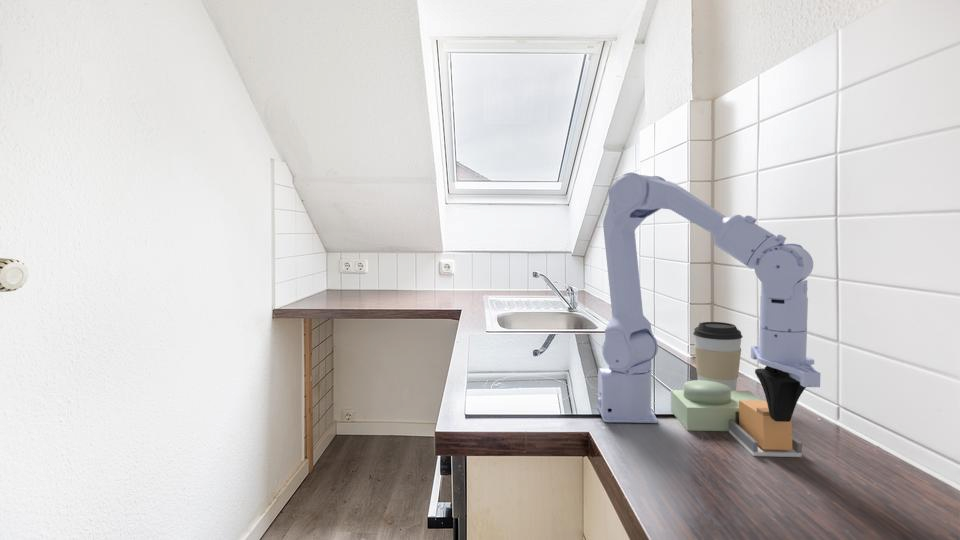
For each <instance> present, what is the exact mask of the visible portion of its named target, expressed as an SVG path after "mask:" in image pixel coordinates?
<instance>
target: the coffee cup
mask: <svg viewBox="0 0 960 540" xmlns="http://www.w3.org/2000/svg"><path fill="white" fill-rule="evenodd" d="M692 335H694V358H695V367H696V374H697V375H696V376H697V380H706V381H713V382H718V383H722V384H724V385H727V386H728V387H730V388H731V390H732V391H737V384H738V378H739V373H740V372H739V370H740V363H741V355H742V354H741V353H742V348H741V347H742V346H741V344H742V338H743V335H742V332H741V330H739V329H738V327H737V326H736V325H735V324H733V323H730V322H729V323H727V322H723V321H705V322H704V321H703V322H699V324H698V326H696V327H695V328H694V331H693V333H692Z"/></svg>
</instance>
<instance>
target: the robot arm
mask: <svg viewBox="0 0 960 540" xmlns="http://www.w3.org/2000/svg"><path fill="white" fill-rule="evenodd" d="M607 191H608V200H609V201H608V204H607V208H606V211H605V214H604V218H603V225H602V227H603V236H604V237H603V239H604V245H605V247H604V248H605V249H604V250H605V255H606V266H607V277H608V286H609V294H610V295H609V297H610V304H611V305H610V306H611V314H612V315H611V316H612V317H611V319H610V321H609V322H608V324H607V325H606V327H605V328H604V329H605V330H604V335H605V337H604V342H603V345H602V349H601V351H602V356H603V357H602V358H603V359H604V361H605V363H606V365H608V367H607V366H606V367H600V368H598V371H597V408H598V410H599V414H600V416H601V419H602V421H603V422H604V423H636V424H637V423H640V424H641V423H642V424H643V423H644V424H657V423H659V419H658V418H657V417H656V415H655V414H654V412H653V411H652V360H653V359H654V358H655V357H656V356H657V354H658V350H659V344H658V341H657V338H656V337H655V335H654V333H653V330H652V324H651V322H650V321H649V320H648V318H647V317H646V316H645V315H644V310H643V302H642V300H643V299H642V291H641V282H640V272H639V271H640V269H639V263H638V262H639V261H638V253H637V251H638V249H637V242H636V233H635V231H636V230H637V228H638V227H639V226H640V225H641V223H643V222H644V220H646V219H647V218H648V217H650V216H652V215H653V214H654V213H657V212H658V211H660V210H662V209H663V210H669V211H672V212H674V213H675V214H677V215H679V216H681V217H683V218H685V220H688V222H691V223H693V224H695V225H697V226H699V228H702V229H704V230H705V231H707V232H709V233H710V234H711V235H712V239H713V243H714V246H715V247H717V248H718V249H720V250H722V251H723V252H725V253H726V254H728V255H729V256H731V257H732V258H734V259H735V260H737V261H739V262H740V263H742V264H743V265H744V266H746V267H748V268H749V269H754V272H755V273H754V274H755V275H756V277H757V279H759V281H760V282H761V283H760V284H761V287H760V288H761V291H760V293H761V295H760V297H759V299H760V302H759V303H760V305H759V306H760V307H759V308H760V309H759V310H760V311H759V338H758V339H759V343H758V344H759V346H757V345H755V346H754V345H753V346H751V347H750V358H751V359H752V360H755V361H756V360H757V363H759V364H760V365H762V366H764V368H756V369H754V373H755V375H756V377H757V378H758V380H759V382H760V384H761V387H762V391H763V392H764V395H765V401H766V402H767V404H768V409H769V413H770V416H771V418H772V419H773V420H775V421H778V422H790V420H791V418H792V419H793V414H794V412H795V408H796V406H797V403H798V402H799V399H800V397H801V395H802V394H803V392H804V391H805V389H806V388H820V387H821V372H819V371H817V370H816V369H815V368H814V367H813V366H812V365H815V359H813V358H812V357H809V356H807V345H808V344H807V343H808V342H807V338H808V335H807V334H808V310H809V309H808V306H809V304H808V303H809V298H808V280H806V279H807V278H808V277H809V276H810V275H811V273H812V271H813V269H814V260H813V257H812V256H811V253H809V251H807V250H806V248H804V247H803V246H802V245H801V244H797V243H785V241H786V240H787V237H785V236H784V235H783V234H777V235H775V234H773V233H772V232H770V231H768V230H766V229H765V228H763V227H761V226H759V224H756V222H757V218H755V217H754V216H751V215H745V216H743V215H741V214H735V215H730V216H726V215H724V214H723V213H721V212H720V211H718V209H717V210H716V209H715V208H713V207H712V206H711V205H709V204H708V203H706V202H705V201H704V200H701V199H700V198H699V197H697V196H695V195H694V194H693V193H690V192H689V191H688V190H687V189H684V188H683V187H681V186H680V185H679V184H676V183H675V182H672V181H669V180H668V181H667V180H666V179H665V178H664V177H661V176H657V175H652V176H651V175H644V174H638V173H635V172H626V173H624V174H621V175H620V176H618V178H617V179H616V180H615V182H614V183H612V185H611V186H610V187H609V189H608V190H607Z"/></svg>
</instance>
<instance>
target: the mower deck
mask: <svg viewBox="0 0 960 540" xmlns="http://www.w3.org/2000/svg"><path fill="white" fill-rule="evenodd" d="M739 400H743V401H764V399H762V398H761V397H759V396H757V395H756V394H755V393H753V392H752V391H750V390H736V391H732V390H731V388H730V387H728V386H727V385H724V384H722V383H718V382H713V381H706V380H698V379H694V380H687V381H685V382H684V383H683V389H670V412H671V413H672V414H673V415H674V416H675V418H676V419H677V420H678V421H679V422H680V424H681V425H682V426H683V427H684V429H685V430H686V431H694V432H695V431H698V432H700V431H702V432H703V431H704V432H728V433H729V434H730V435H731V436H732V437H733V438H734V439H735V440H736V441H738V443H739V444H740V445H741V446H742V447H744V449H745V450H746V451H748V452H749V454H751V455H752V456H753V457H780V458H781V457H782V458H783V457H784V458H785V457H786V458H789V457H790V458H802V455H803V454H802V453H803V442H802V441H800V440H798V439H797V438H796V437H794V436H793V435H792V450H773V449H763V448H762V447H760V446H759V445H758V442H757V441H756V440H754V439H753V438H752V437H751V436H750V435H749V434H748V433H747V432H746V431H744V430H743V429H742V428H741V427H740V426H739Z"/></svg>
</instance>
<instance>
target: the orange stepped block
mask: <svg viewBox="0 0 960 540" xmlns="http://www.w3.org/2000/svg"><path fill="white" fill-rule="evenodd" d="M739 426H740V427H741V428H742V429H743V430H744V431H746V432H747V433H748V434H749V435H750V436H751V437H752V438H753V439H754V440H756V441H757V442H758V445H759V446H760V447H762V448H763V449H773V450H792V436H793V417H792V418H791V420H790V422H778V421H775V420H773V419H772V418H771V416H770V413H769V409H768V404H767V400H763V401H743V400H739Z"/></svg>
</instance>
